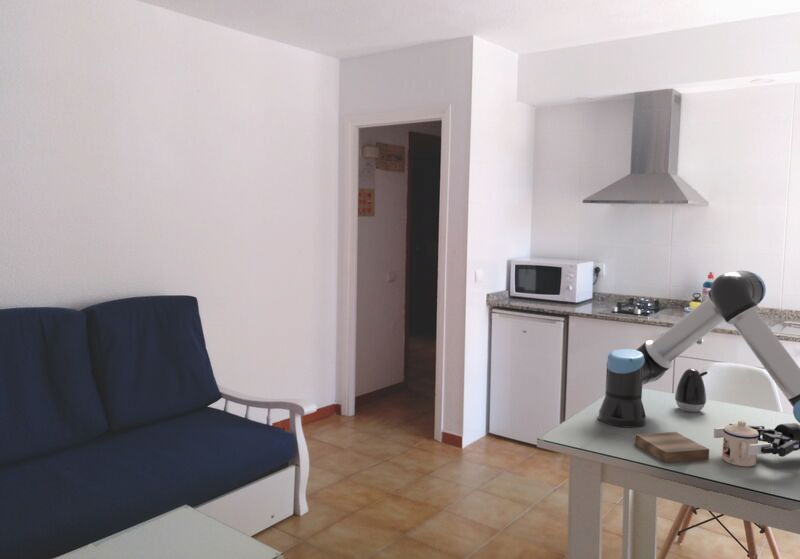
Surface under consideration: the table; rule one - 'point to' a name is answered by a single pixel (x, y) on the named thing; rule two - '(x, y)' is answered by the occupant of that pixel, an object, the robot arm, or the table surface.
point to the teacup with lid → (739, 444)
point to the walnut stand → (671, 447)
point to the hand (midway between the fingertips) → (731, 441)
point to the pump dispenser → (691, 391)
